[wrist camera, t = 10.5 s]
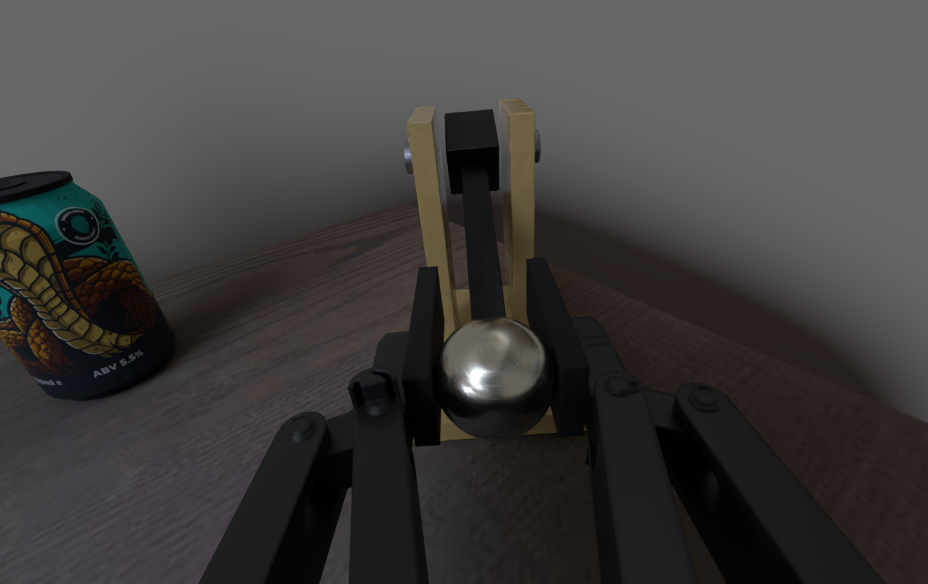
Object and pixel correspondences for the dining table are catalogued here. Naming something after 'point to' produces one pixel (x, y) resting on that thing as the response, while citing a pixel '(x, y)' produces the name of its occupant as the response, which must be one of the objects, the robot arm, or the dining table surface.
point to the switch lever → (487, 308)
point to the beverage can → (73, 291)
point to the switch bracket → (517, 217)
